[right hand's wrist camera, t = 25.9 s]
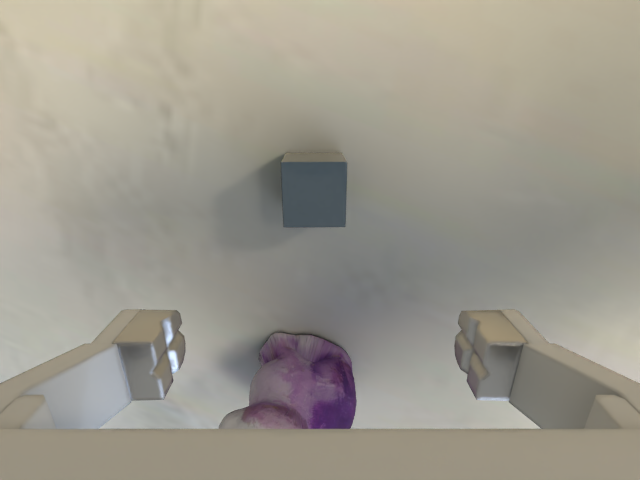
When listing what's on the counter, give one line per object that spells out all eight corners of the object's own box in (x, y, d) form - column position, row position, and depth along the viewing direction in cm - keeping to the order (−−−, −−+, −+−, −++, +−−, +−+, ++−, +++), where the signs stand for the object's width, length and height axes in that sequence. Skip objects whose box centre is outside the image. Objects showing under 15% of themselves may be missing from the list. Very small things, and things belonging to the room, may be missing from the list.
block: (287, 209, 30) (283, 227, 26) (285, 152, 28) (280, 161, 24) (340, 209, 30) (345, 227, 26) (342, 152, 28) (347, 161, 24)
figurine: (237, 335, 34) (183, 501, 20) (343, 317, 33) (364, 474, 19) (261, 409, 37) (230, 594, 23) (358, 394, 37) (385, 574, 23)
